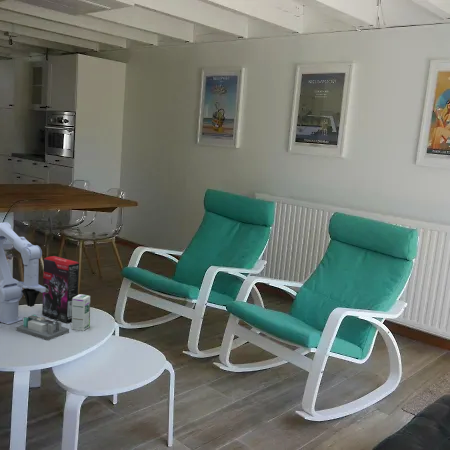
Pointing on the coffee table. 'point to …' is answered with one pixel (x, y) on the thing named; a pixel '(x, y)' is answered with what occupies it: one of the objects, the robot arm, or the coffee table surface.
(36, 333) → the clamp board
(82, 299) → the syrup box
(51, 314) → the graphics card box
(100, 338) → the coffee table surface
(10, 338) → the coffee table surface
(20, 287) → the robot arm
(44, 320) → the clamp strap
